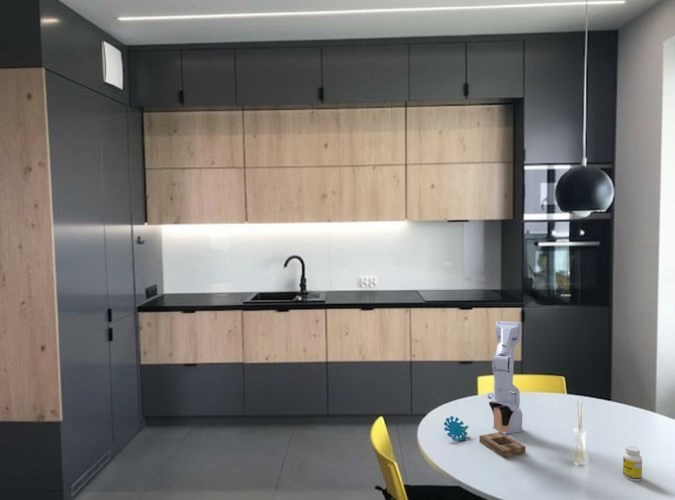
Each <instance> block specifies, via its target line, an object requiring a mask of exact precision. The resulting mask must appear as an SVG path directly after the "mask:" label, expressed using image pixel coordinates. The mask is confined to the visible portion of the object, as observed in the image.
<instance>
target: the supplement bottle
mask: <svg viewBox="0 0 675 500" xmlns="http://www.w3.org/2000/svg"><path fill="white" fill-rule="evenodd" d="M640 454H641V450H640V448H638V447H636V446H633V445H627V446H625V453H623V455H622V456H623V457H622V459H623V461H622V463H623V464H622V475H623V477H624V478H626V479H628V480H630V481H633V482H638V481H642V477H643V457H642V456H641V455H640Z"/></svg>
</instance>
